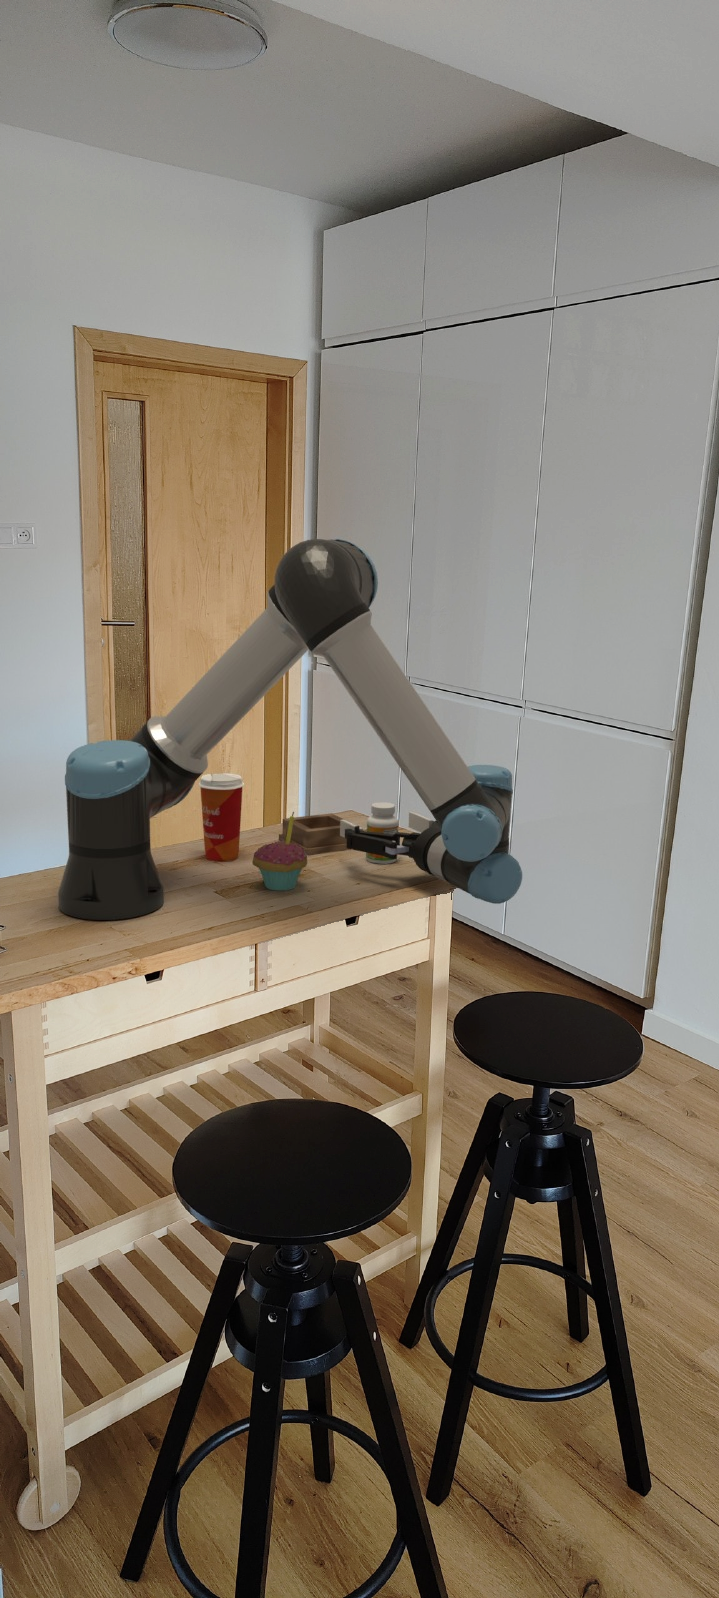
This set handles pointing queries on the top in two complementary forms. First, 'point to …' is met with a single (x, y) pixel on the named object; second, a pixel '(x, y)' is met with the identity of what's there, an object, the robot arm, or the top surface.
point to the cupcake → (280, 862)
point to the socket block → (316, 833)
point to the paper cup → (221, 815)
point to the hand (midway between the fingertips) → (376, 823)
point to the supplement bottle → (382, 827)
